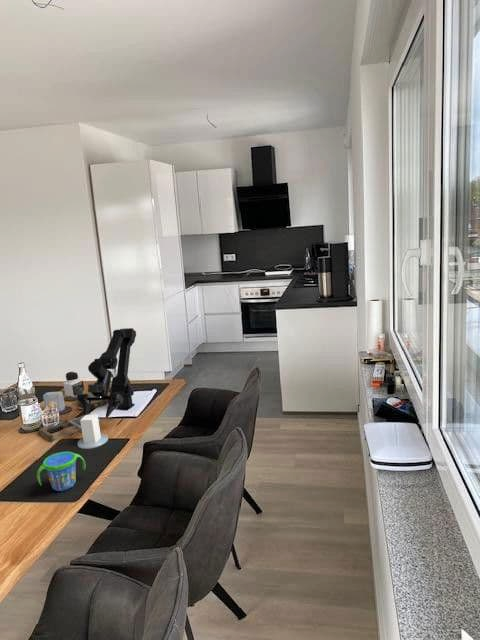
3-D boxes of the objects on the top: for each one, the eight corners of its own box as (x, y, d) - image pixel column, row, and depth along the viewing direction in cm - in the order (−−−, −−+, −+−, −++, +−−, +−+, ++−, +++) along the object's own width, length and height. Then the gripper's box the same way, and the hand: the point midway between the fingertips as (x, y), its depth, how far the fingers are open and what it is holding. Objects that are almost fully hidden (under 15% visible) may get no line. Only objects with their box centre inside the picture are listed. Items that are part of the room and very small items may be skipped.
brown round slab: (116, 395, 247) (115, 390, 247) (104, 408, 232) (103, 402, 231) (86, 397, 249) (85, 391, 249) (72, 409, 234) (71, 403, 233)
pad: (114, 436, 200) (113, 434, 200) (96, 450, 190) (96, 448, 189) (89, 433, 205) (89, 432, 204) (71, 447, 194) (71, 446, 193)
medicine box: (65, 408, 236) (62, 391, 234) (61, 411, 232) (58, 394, 230) (50, 408, 237) (47, 392, 235) (45, 412, 233) (42, 395, 231)
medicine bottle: (74, 397, 249) (70, 375, 246) (65, 395, 253) (61, 374, 250) (85, 392, 255) (81, 371, 252) (76, 391, 259) (72, 369, 256)
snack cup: (84, 472, 174) (79, 445, 171) (91, 485, 165) (86, 457, 162) (37, 486, 166) (32, 459, 164) (42, 501, 157) (36, 472, 155)
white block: (89, 437, 200) (86, 414, 198) (101, 437, 199) (97, 414, 197) (84, 443, 195) (80, 420, 193) (95, 443, 194) (91, 420, 192)
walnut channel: (67, 424, 216) (66, 419, 216) (78, 431, 208) (77, 425, 208) (39, 434, 208) (38, 429, 208) (50, 441, 200) (49, 436, 200)
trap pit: (89, 416, 223) (89, 413, 223) (100, 422, 216) (99, 418, 215) (68, 424, 216) (68, 421, 216) (79, 430, 209) (78, 427, 209)
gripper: (74, 375, 203) (65, 411, 195) (116, 374, 200) (109, 410, 192) (86, 386, 213) (78, 420, 205) (126, 385, 210) (120, 420, 202)
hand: (96, 418), depth 201 cm, fingers open, 9 cm apart
